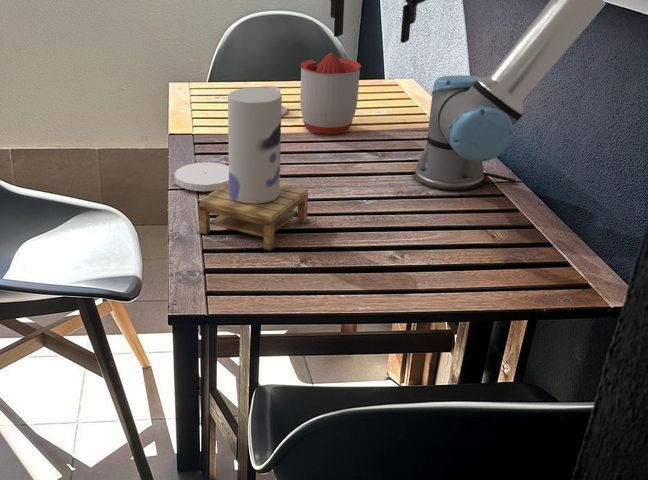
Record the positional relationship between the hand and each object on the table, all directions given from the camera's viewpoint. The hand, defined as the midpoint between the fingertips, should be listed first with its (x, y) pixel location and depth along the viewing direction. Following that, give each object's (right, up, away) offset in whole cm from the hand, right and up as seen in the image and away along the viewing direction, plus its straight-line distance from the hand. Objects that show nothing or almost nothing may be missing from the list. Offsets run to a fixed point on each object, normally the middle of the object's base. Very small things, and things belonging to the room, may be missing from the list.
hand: (370, 38), depth 157 cm
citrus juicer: (-1, -3, +62) cm, 62 cm away
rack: (-22, -36, +8) cm, 43 cm away
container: (-22, -30, +4) cm, 38 cm away
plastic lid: (-33, -24, +28) cm, 49 cm away
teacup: (-17, +4, +75) cm, 77 cm away
